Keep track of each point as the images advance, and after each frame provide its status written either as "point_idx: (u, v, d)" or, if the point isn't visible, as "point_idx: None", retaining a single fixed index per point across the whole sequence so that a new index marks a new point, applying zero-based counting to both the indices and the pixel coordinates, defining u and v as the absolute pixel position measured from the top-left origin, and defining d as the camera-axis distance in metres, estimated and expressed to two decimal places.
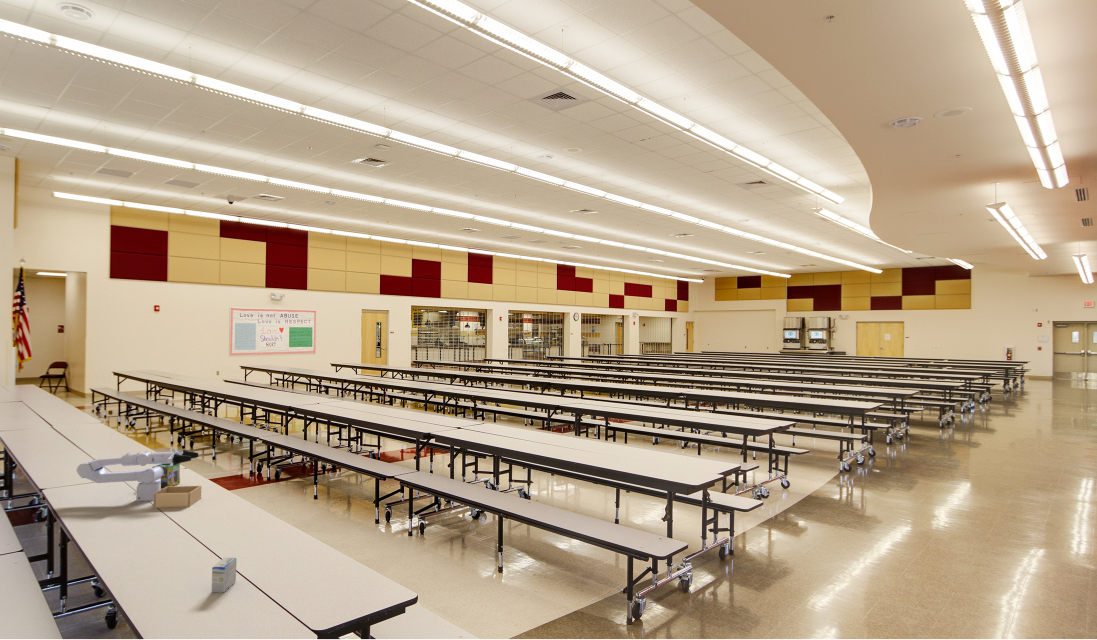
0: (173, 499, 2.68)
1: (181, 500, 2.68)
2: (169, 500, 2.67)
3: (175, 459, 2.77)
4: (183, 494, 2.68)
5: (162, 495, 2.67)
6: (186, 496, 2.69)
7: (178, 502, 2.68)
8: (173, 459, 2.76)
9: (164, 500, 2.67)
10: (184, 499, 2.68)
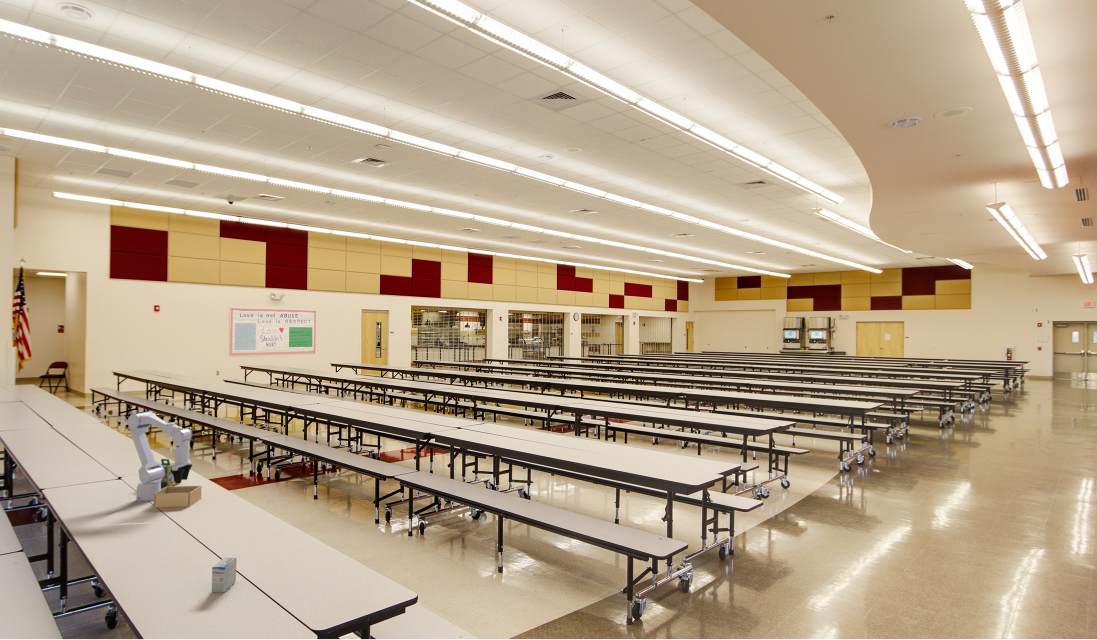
0: (173, 499, 2.68)
1: (181, 500, 2.68)
2: (169, 500, 2.67)
3: (177, 470, 2.72)
4: (183, 494, 2.68)
5: (162, 495, 2.67)
6: (186, 496, 2.69)
7: (178, 502, 2.68)
8: (176, 470, 2.71)
9: (164, 500, 2.67)
10: (184, 499, 2.68)
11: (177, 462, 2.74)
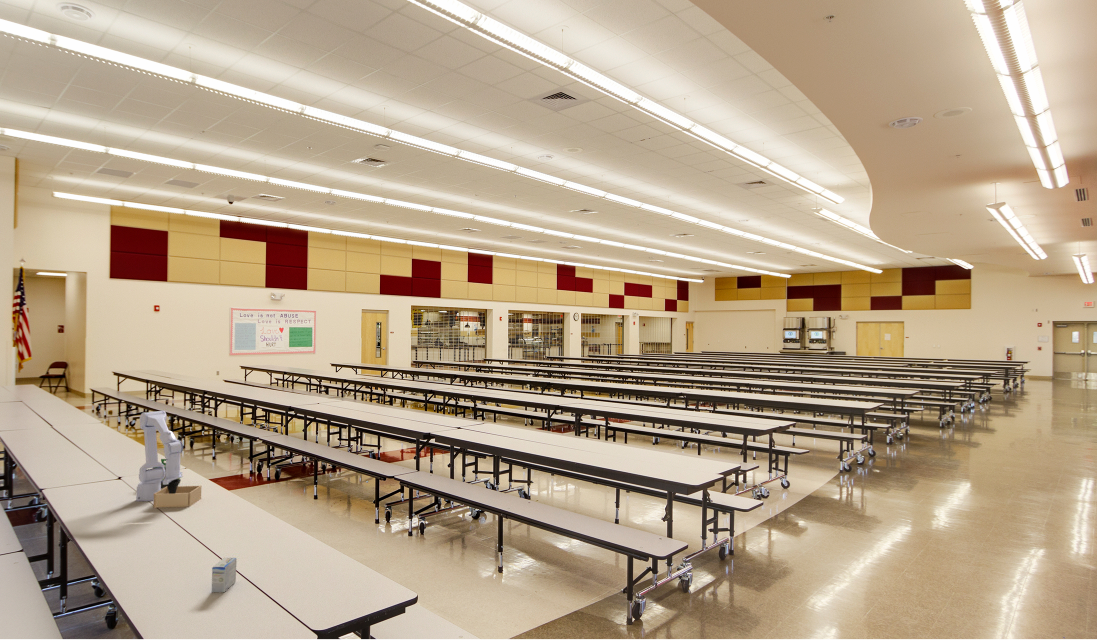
0: (173, 499, 2.67)
1: (181, 500, 2.68)
2: (169, 500, 2.67)
3: None
4: (183, 494, 2.68)
5: (162, 495, 2.67)
6: (186, 496, 2.68)
7: (178, 502, 2.68)
8: (171, 482, 2.66)
9: (164, 500, 2.67)
10: (184, 499, 2.68)
11: (168, 476, 2.65)
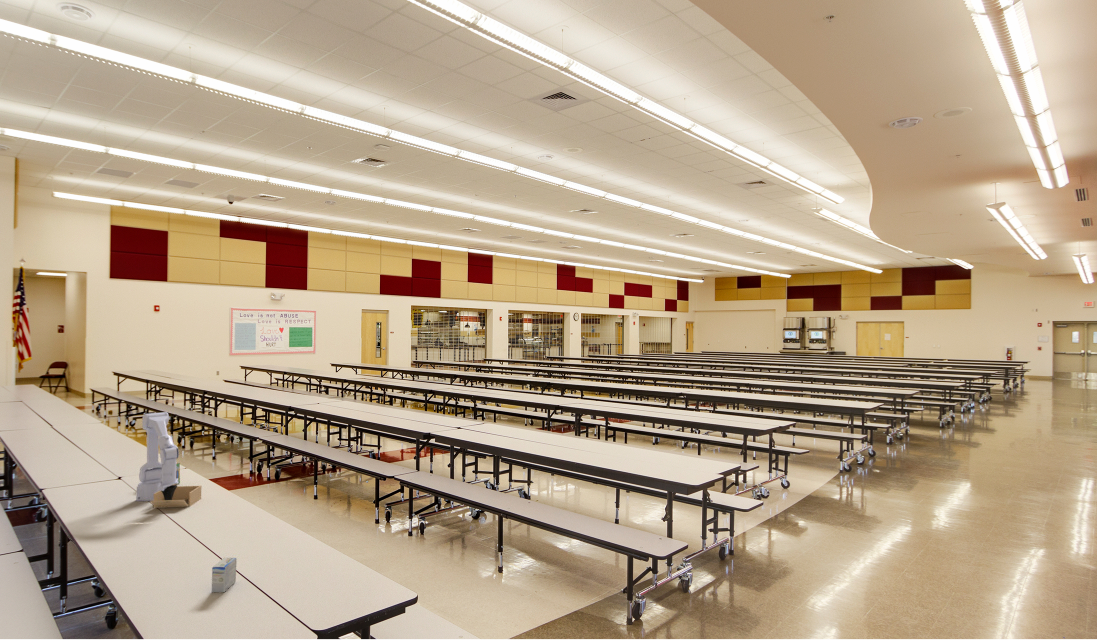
0: (170, 503, 2.65)
1: (179, 503, 2.66)
2: (166, 504, 2.65)
3: None
4: (179, 501, 2.64)
5: (157, 502, 2.63)
6: (182, 502, 2.65)
7: (177, 505, 2.67)
8: (166, 488, 2.62)
9: (161, 504, 2.65)
10: (181, 503, 2.66)
11: (164, 482, 2.61)
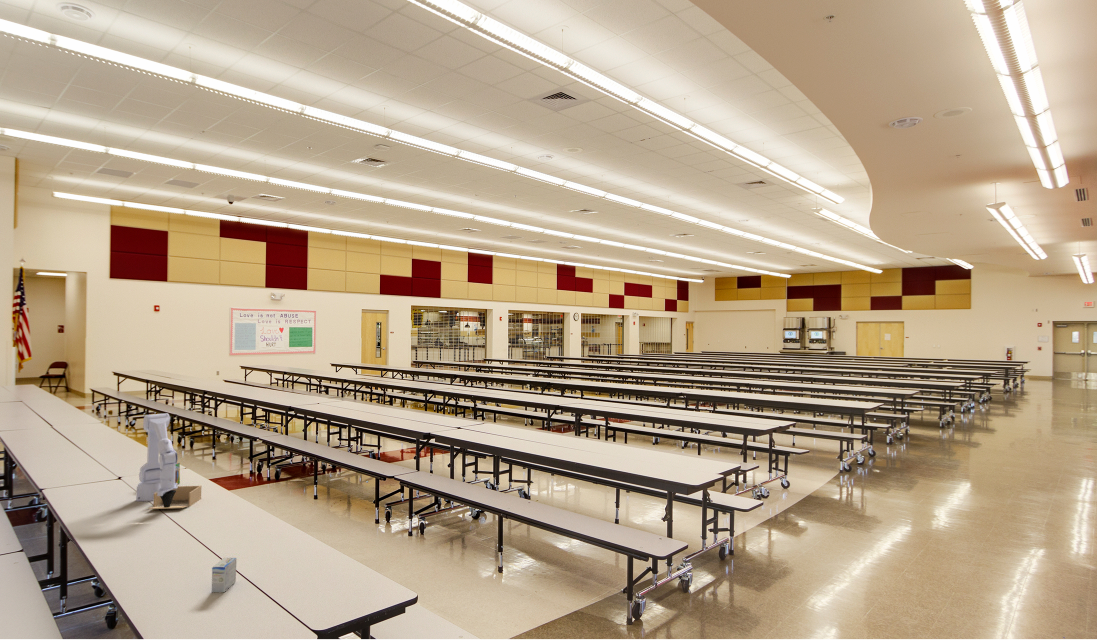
0: None
1: (178, 507, 2.65)
2: None
3: None
4: (177, 507, 2.63)
5: (156, 508, 2.61)
6: (181, 507, 2.64)
7: (176, 507, 2.66)
8: (165, 493, 2.61)
9: None
10: (180, 507, 2.65)
11: (162, 487, 2.60)
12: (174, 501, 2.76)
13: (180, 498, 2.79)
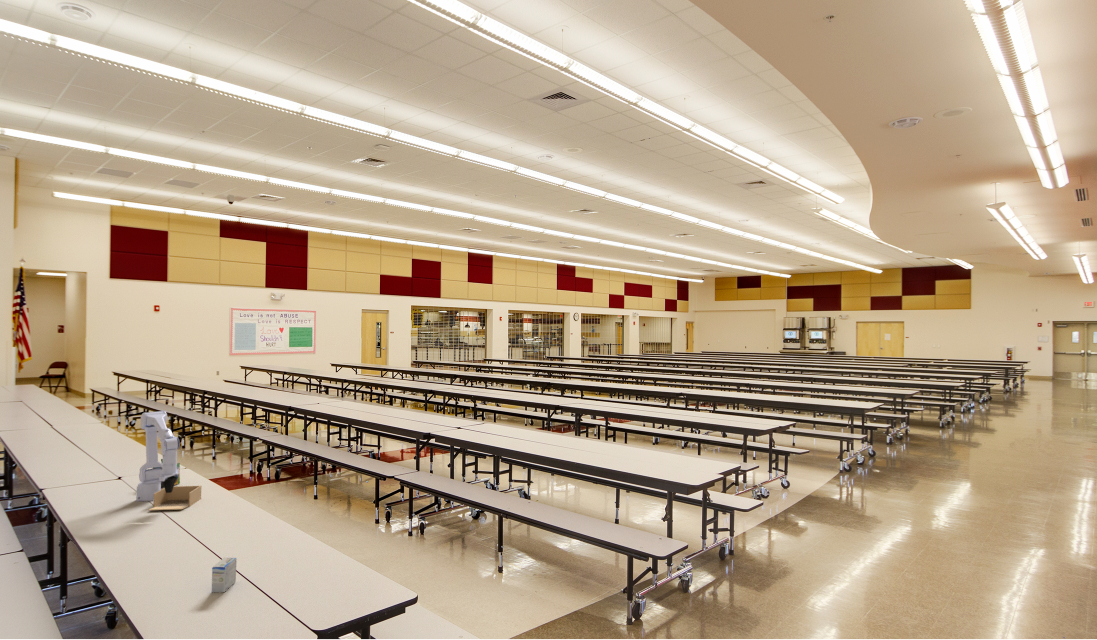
0: None
1: None
2: None
3: None
4: None
5: None
6: (181, 508, 2.64)
7: None
8: (167, 479, 2.62)
9: None
10: None
11: (164, 472, 2.62)
12: (174, 501, 2.76)
13: (180, 498, 2.79)
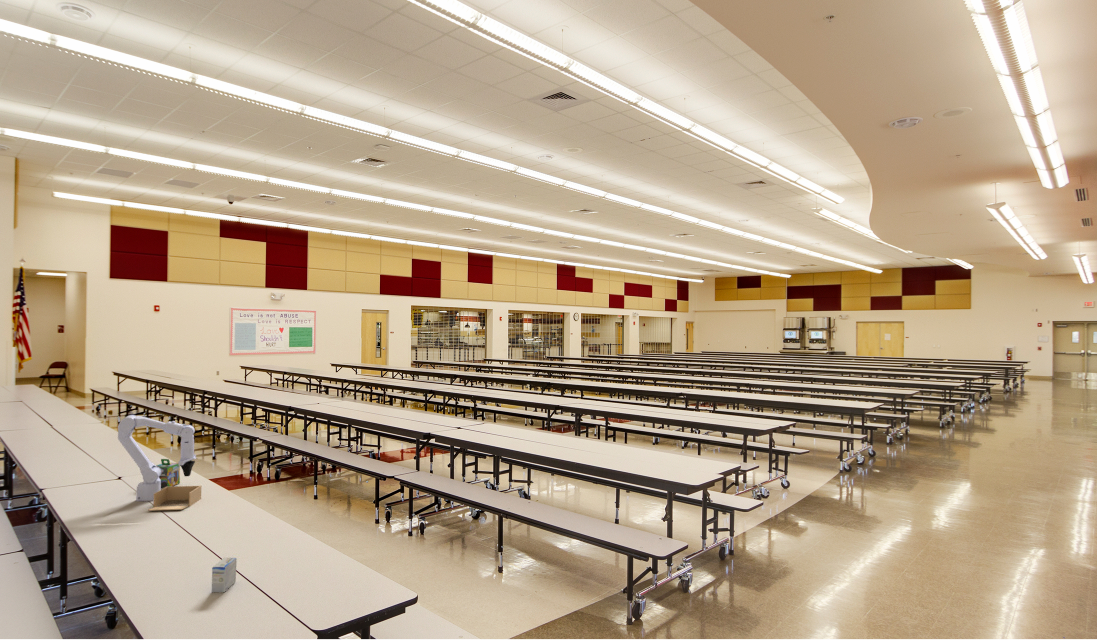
0: None
1: None
2: None
3: None
4: None
5: None
6: None
7: None
8: (185, 463, 2.84)
9: None
10: None
11: (183, 457, 2.83)
12: (174, 501, 2.76)
13: (180, 498, 2.79)
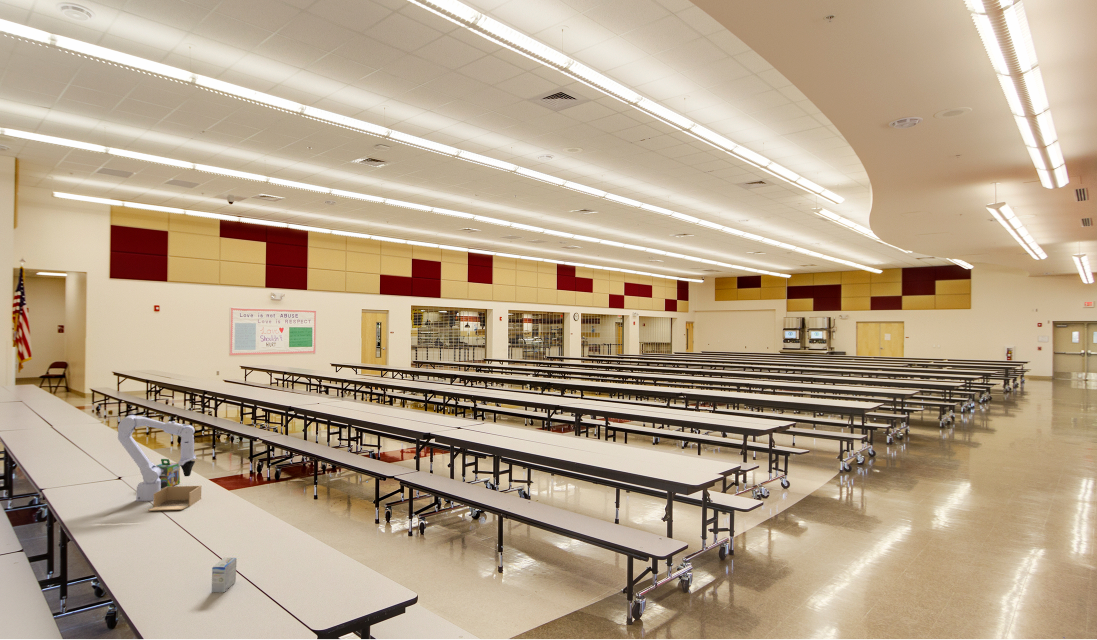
0: None
1: None
2: None
3: None
4: None
5: None
6: None
7: None
8: (185, 463, 2.84)
9: None
10: None
11: (183, 457, 2.83)
12: (174, 501, 2.76)
13: (180, 498, 2.79)
